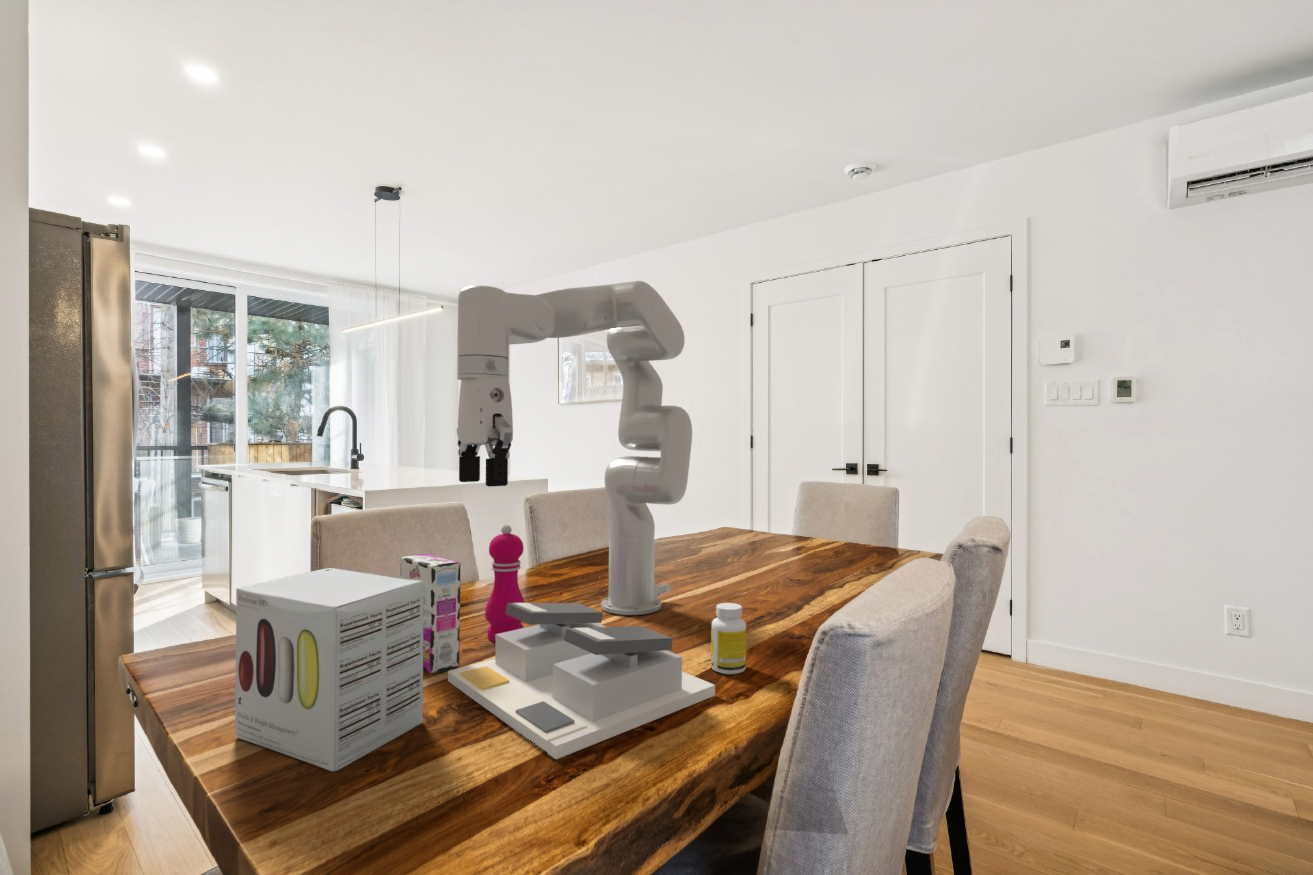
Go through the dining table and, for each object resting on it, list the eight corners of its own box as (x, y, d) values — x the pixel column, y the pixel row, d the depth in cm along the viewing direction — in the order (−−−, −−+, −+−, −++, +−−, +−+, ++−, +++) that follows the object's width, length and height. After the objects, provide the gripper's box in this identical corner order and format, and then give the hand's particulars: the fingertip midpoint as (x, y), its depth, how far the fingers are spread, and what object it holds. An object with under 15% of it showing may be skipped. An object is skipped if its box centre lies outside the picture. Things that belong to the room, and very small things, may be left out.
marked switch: (575, 612, 103) (577, 602, 103) (601, 622, 97) (603, 611, 98) (505, 613, 94) (507, 601, 94) (529, 624, 89) (531, 612, 89)
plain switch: (638, 637, 91) (640, 624, 91) (671, 649, 85) (673, 636, 86) (564, 640, 82) (566, 627, 82) (595, 655, 77) (597, 640, 77)
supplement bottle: (753, 670, 96) (753, 607, 96) (725, 678, 93) (726, 612, 93) (731, 660, 101) (731, 599, 101) (704, 666, 98) (704, 604, 98)
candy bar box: (461, 666, 97) (462, 561, 97) (431, 675, 93) (432, 566, 93) (427, 649, 105) (427, 551, 105) (397, 656, 101) (398, 555, 101)
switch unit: (592, 642, 109) (592, 599, 109) (714, 695, 87) (715, 641, 87) (446, 681, 91) (446, 630, 91) (553, 760, 69) (553, 693, 69)
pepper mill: (531, 631, 114) (532, 522, 114) (519, 644, 107) (519, 528, 107) (493, 629, 115) (494, 521, 115) (478, 642, 108) (479, 527, 108)
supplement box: (229, 741, 73) (230, 587, 73) (329, 697, 85) (330, 566, 85) (333, 775, 66) (334, 605, 66) (426, 722, 78) (427, 579, 78)
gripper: (533, 368, 90) (532, 486, 90) (482, 376, 103) (482, 479, 103) (484, 363, 85) (483, 489, 85) (437, 372, 98) (437, 481, 98)
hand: (482, 483), depth 94 cm, fingers open, 9 cm apart
